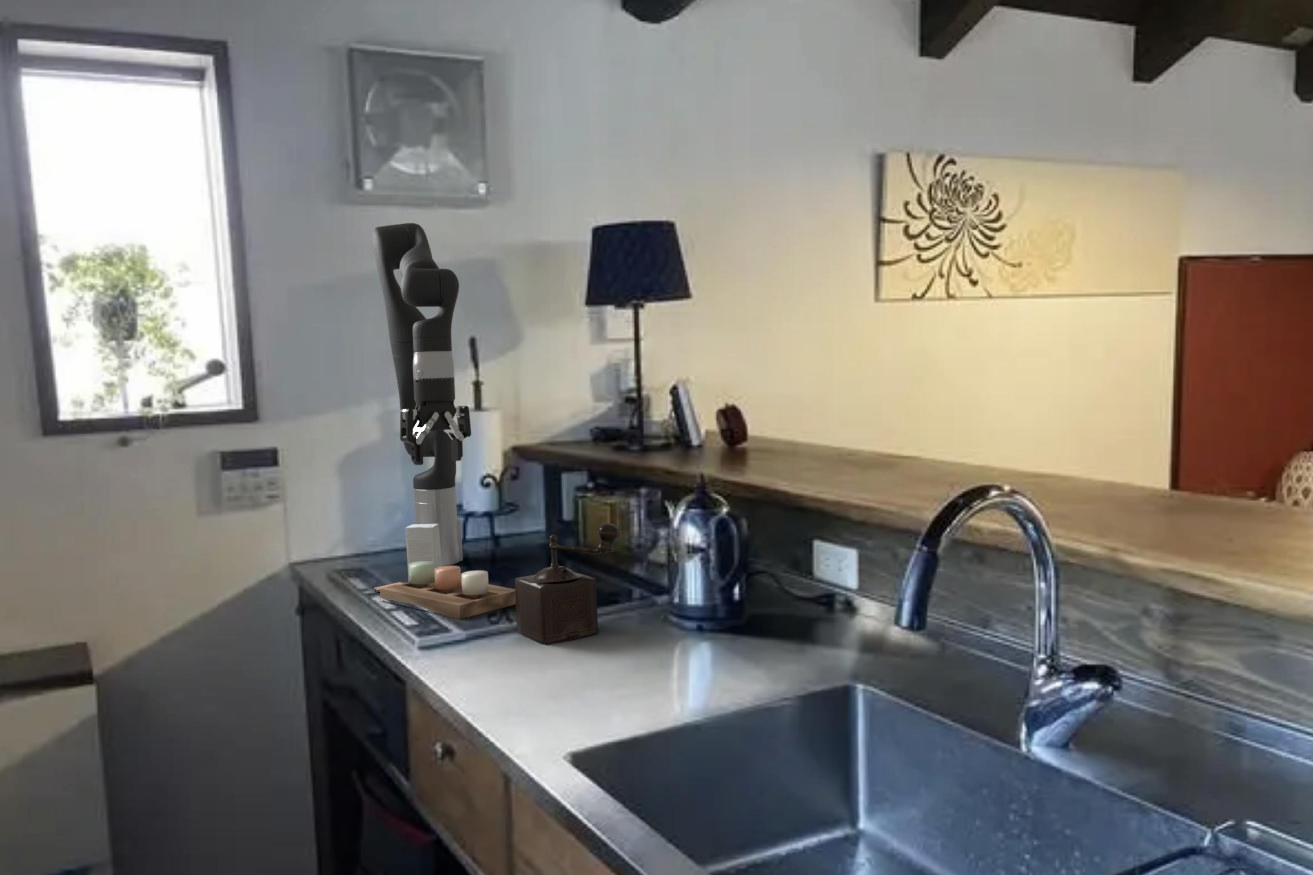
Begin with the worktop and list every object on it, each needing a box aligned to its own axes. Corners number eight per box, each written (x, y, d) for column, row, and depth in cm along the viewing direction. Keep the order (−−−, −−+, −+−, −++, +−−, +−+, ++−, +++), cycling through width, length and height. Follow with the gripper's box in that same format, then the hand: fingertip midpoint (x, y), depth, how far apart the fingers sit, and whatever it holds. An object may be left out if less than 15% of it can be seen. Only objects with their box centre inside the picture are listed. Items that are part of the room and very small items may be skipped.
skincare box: (443, 580, 219) (440, 523, 218) (436, 584, 215) (433, 526, 214) (414, 580, 220) (411, 523, 219) (407, 585, 216) (404, 527, 215)
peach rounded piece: (450, 582, 203) (449, 564, 203) (466, 585, 200) (465, 567, 200) (430, 587, 199) (429, 569, 199) (446, 590, 196) (445, 572, 196)
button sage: (425, 577, 208) (424, 560, 208) (440, 580, 205) (439, 562, 205) (404, 582, 205) (403, 564, 204) (419, 585, 201) (418, 567, 201)
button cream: (477, 587, 198) (476, 569, 197) (494, 591, 195) (493, 572, 194) (456, 592, 194) (456, 574, 194) (473, 596, 191) (472, 577, 191)
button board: (439, 587, 213) (439, 574, 213) (519, 603, 197) (518, 590, 197) (380, 601, 202) (379, 588, 202) (459, 619, 187) (459, 605, 187)
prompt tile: (399, 586, 215) (399, 582, 215) (417, 589, 211) (417, 585, 211) (374, 591, 211) (374, 587, 211) (392, 595, 207) (391, 591, 207)
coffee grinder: (546, 646, 168) (541, 535, 166) (514, 632, 177) (510, 526, 176) (628, 629, 177) (624, 523, 175) (594, 616, 186) (590, 515, 184)
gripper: (453, 375, 205) (456, 459, 206) (389, 377, 195) (393, 465, 196) (477, 375, 200) (480, 460, 201) (412, 377, 189) (416, 466, 190)
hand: (437, 462), depth 198 cm, fingers open, 8 cm apart
